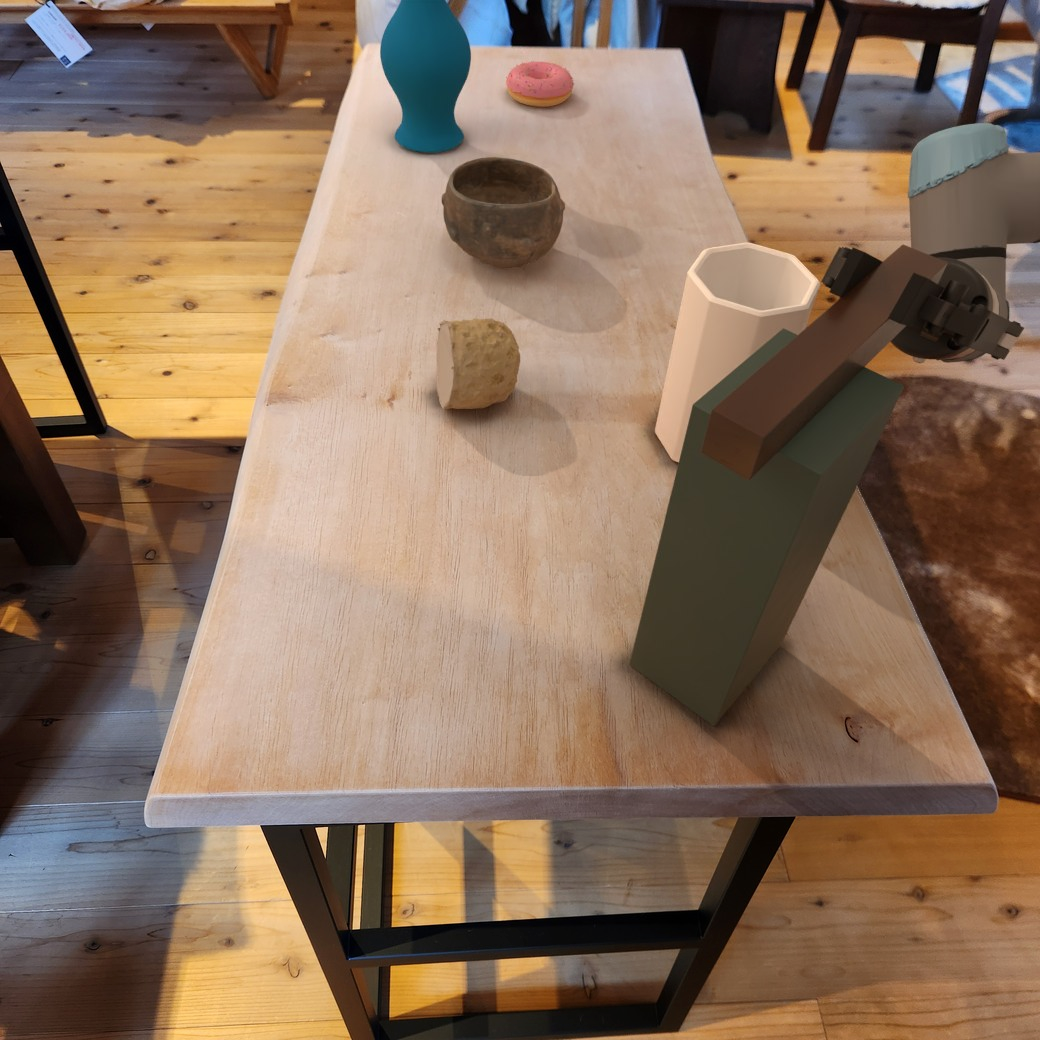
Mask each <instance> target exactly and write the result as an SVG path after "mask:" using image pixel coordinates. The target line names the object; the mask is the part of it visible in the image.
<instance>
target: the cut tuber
mask: <svg viewBox="0 0 1040 1040" xmlns="http://www.w3.org/2000/svg"><path fill="white" fill-rule="evenodd" d="M437 331H438V336H437V342H436V377H437V379H436V380H437V381H436V383H437V384H436V397H437V398H438V402H439V404H440V406H441V408H442V410H449V409H456V410H457V409H459V410H460V409H461V410H463V409H465V410H466V409H467V410H470V409H472V410H475V409H481V410H482V409H485V408H488V407H490V406H491V405H495V404H496V403H498V404H499V403H502V402H504V401H506V400H507V399H508V397H509V396H510V394H511V393H512V392H513V391H514V389H515V386H516V384H517V382H518V373H519V370H520V364H521V352H520V346H519V345H518V342H517V339H516V336H515V335H514V333H513V331H512V330H511V328H509V326H507V324H506V323H505V322H502V321H499V320H495V319H494V318H492V317H488V318H477V317H475V318H473V319H462V320H452V321H447V320H442V321H441V322H439V327H438V328H437Z"/></svg>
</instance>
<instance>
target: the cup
mask: <svg viewBox="0 0 1040 1040" xmlns="http://www.w3.org/2000/svg"><path fill="white" fill-rule="evenodd" d="M684 283H685V284H684V288H683V294H682V298H681V303H680V308H679V312H678V318H677V321H676V327H675V331H674V337H673V341H672V346H671V349H670V350H671V351H670V355H669V361H668V365H667V370H666V374H665V379H664V385H663V390H662V394H661V399H660V403H659V404H660V405H659V407H658V408H659V409H658V413H657V418H656V423H655V427H654V433H655V435H656V436H657V438H658V439H659V442H660V443H661V444H662V446H663V448H664V449H665V451H666V452H667V454H668V456H669V457H670V459H671V460H672V461H673V462H676V463H679V459H680V455H681V451H682V447H683V443H684V439H685V435H686V430H687V426H688V422H689V418H690V414H691V410H692V406H693V404H694V403H695V402H696V401H698V400H699V399H700V398H701V397H702V396H703V395H705V394H706V393H707V392H708V391H709V390H711V389H712V388H713V387H714V386H715V385H717V384H718V383H719V382H720V381H721V380H722V379H724V378H725V377H726V376H727V375H728V374H730V373H731V372H732V371H733V370H734V369H736V368H737V367H738V366H739V365H740V364H741V363H743V362H744V361H745V360H746V359H747V358H749V357H750V356H751V355H752V354H753V353H755V352H756V351H757V350H758V349H759V348H760V347H762V346H763V345H764V344H765V343H766V342H768V341H769V340H770V339H771V338H772V337H773V336H775V335H776V334H777V333H778V332H779V331H781V330H782V329H783V328H784V329H786V330H788V331H790V332H792V333H795V334H797V335H799V334H800V333H801V332H802V331H803V330H804V329H806V328H807V325H808V322H809V320H810V316H811V313H812V311H813V308H814V304H815V302H816V299H817V295H818V293H819V290H820V287H821V282H820V280H819V279H818V278H817V277H816V276H815V275H814V274H813V273H812V272H811V271H810V270H809V269H808V268H807V267H806V266H805V265H804V264H803V263H802V262H801V261H800V259H799V258H798V257H797V256H796V255H794V254H793V253H789V252H785V251H781V250H777V249H774V248H770V247H767V246H763V245H760V244H756V243H753V242H740V243H733V244H727V245H720V246H719V245H718V246H713V247H708V248H705V249H703V250H702V251H701V253H699V255H698V256H697V258H696V260H694V262H693V264H691V266H690V267H689V269H688V271H687V273H686V279H685V282H684Z"/></svg>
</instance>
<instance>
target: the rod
mask: <svg viewBox="0 0 1040 1040" xmlns="http://www.w3.org/2000/svg"><path fill="white" fill-rule="evenodd" d="M947 263H948V262H946V261H943V260H941V259H938V258H936V257H933V256H931V255H928V254H926V253H923V252H921V251H918V250H916V249H913V248H911V246H908V245H906V244H901V245H900V246H899V247H898V248H896V250H894V251H893V252H892V253H891V254H889V256H888V257H886V258H884V260H882V263H881V264H880V265H879V266H877V267H876V268H875V269H874V270H873V271H872V272H870V273H869V274H868V275H867V276H866V277H865V278H864V279H862V280H861V281H860V282H859V283H858V284H857V285H855V286H854V287H853V288H852V289H851V290H850V291H848V292H847V293H846V294H845V295H844V296H843V297H842V298H840V297H839V298H840V299H839V298H838V299H839V300H836V301H835V302H834V303H833V304H832V305H831V306H830V307H829V308H826V310H825V311H824V312H823V313H821V314H820V315H818V317H817V318H816V319H815V320H814V321H812V322H811V323H810V324H809V325H808V326H806V328H805V329H804V330H803V331H802V332H801V333H800V334H799V335H797V336H796V337H795V338H794V339H793V340H792V341H791V342H789V343H788V344H787V345H786V346H785V347H784V348H782V349H781V350H780V351H779V352H778V353H777V354H776V355H774V356H773V357H772V358H771V359H770V360H769V361H767V362H766V363H765V364H764V365H763V366H762V367H761V368H759V369H758V370H757V371H756V372H755V373H754V374H752V375H751V376H750V377H749V378H748V379H747V380H746V381H744V382H743V383H742V384H741V385H740V386H739V387H737V388H736V389H735V390H734V391H733V392H732V393H730V394H729V395H728V396H727V397H726V398H725V399H724V400H722V401H721V402H720V403H719V404H718V405H717V406H715V407H714V408H713V409H712V411H711V415H710V419H709V422H708V426H707V430H706V434H705V437H704V441H703V445H702V448H701V453H702V454H704V455H705V456H707V457H709V458H711V459H712V460H714V461H716V462H718V463H719V464H721V465H723V466H725V467H726V468H728V469H730V470H732V471H733V472H735V473H737V474H738V475H740V476H742V477H744V478H745V479H747V480H750V479H751V478H752V477H753V476H754V475H755V474H756V473H757V472H758V471H759V470H760V469H761V468H762V467H763V466H764V465H765V464H766V463H767V462H768V461H769V460H770V459H771V458H772V457H773V456H775V455H776V454H777V453H778V452H779V451H780V450H781V449H782V448H783V447H784V446H785V445H786V444H787V443H788V442H789V441H790V440H791V439H792V438H793V437H794V436H795V435H796V434H797V433H798V432H799V431H800V430H801V429H802V428H803V427H804V426H805V425H806V424H807V423H808V422H809V421H810V420H811V419H812V418H813V417H814V416H815V415H816V414H817V413H818V412H819V411H820V410H821V409H822V408H823V407H824V406H825V405H826V404H827V403H828V402H829V401H830V400H831V399H832V398H833V397H834V396H835V395H836V394H837V393H838V392H840V391H841V390H842V389H843V388H844V387H845V386H846V385H847V384H848V383H849V382H850V381H851V380H852V379H853V378H854V377H855V376H856V375H857V374H858V373H859V372H860V371H861V370H862V369H863V368H864V367H867V365H869V363H870V362H871V361H872V360H873V359H874V358H875V357H877V355H878V354H879V353H880V352H881V351H882V350H883V349H884V348H885V347H886V346H888V344H890V343H891V342H890V341H891V340H892V339H893V338H894V337H895V336H896V335H897V334H898V333H899V332H900V331H901V330H902V329H903V328H905V327H906V325H903V324H899V323H897V322H895V321H893V320H890V319H888V317H889V315H890V313H891V312H892V310H893V308H894V306H895V305H896V303H897V301H898V299H899V298H900V296H901V294H902V292H903V290H904V289H905V287H906V285H907V283H908V282H909V280H910V278H911V276H912V275H913V273H916V274H919V275H921V276H923V277H926V278H928V279H930V280H931V281H933V282H935V283H936V284H938V283H939V281H940V279H941V276H942V274H943V272H944V270H945V268H946V266H947Z"/></svg>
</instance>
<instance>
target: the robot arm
mask: <svg viewBox="0 0 1040 1040" xmlns="http://www.w3.org/2000/svg"><path fill="white" fill-rule="evenodd" d="M1007 139H1008V138H1007V132H1006V130H1005V128H1003V126H1001V125H999V124H992V123H991V122H977V123H968V124H963V125H958V126H953V127H949V128H945V129H942V130H939V131H936V132H933V133H932V134H931V133H930V134H929V135H928V136H926V137H924V138H922V139H921V140H920V141H918V143H917V144H916V145H915V146H914V148H913V150H912V152H911V155H910V166H909V173H908V186H907V199H908V204H909V205H908V207H909V226H910V227H909V228H910V247H911V248H913V249H916V250H918V251H921V252H923V253H926V254H928V255H931V256H933V257H936V258H938V259H941V260H943V261H946V262H948V263H947V266H946V268H945V270H944V272H943V274H942V276H941V279H940V281H939V283H938V284H936V283H935V282H933V281H931V280H930V279H928V278H926V277H923V276H921V275H919V274H916V273H913V275H912V276H911V278H910V280H909V282H908V283H907V285H906V287H905V289H904V290H903V292H902V294H901V296H900V298H899V299H898V301H897V303H896V305H895V306H894V308H893V310H892V312H891V313H890V315H889V317H888V319H890V320H893V321H895V322H897V323H899V324H903V325H906V327H905V328H903V329H902V330H901V331H900V332H899V333H898V334H897V335H896V336H895V337H894V338H893V339H892V340H891V341H890V342H889V343H891V344H892V345H893V346H894V347H895V348H896V349H897V350H899V351H900V352H902V353H903V354H906V355H908V356H910V357H912V360H913V361H914V363H917V364H924V363H925V361H926V360H936V361H941V362H943V363H945V364H946V363H948V364H950V363H961V362H971V361H974V360H977V359H979V358H982V357H983V356H984V355H986V354H987V355H989V356H990V357H991V358H992V359H994V360H996V361H997V360H1003V361H1005V359H1006V358H1007V356H1008V355H1009V354H1010V352H1011V350H1012V348H1013V347H1014V346H1015V344H1016V342H1017V341H1018V339H1019V337H1020V336H1021V335H1022V333H1023V331H1024V330H1025V327H1024V326H1022V325H1021V323H1020V322H1018V321H1015V320H1013V321H1011V320H1010V315H1011V313H1010V308H1011V307H1010V302H1009V300H1008V299H1007V297H1006V296H1007V294H1006V293H1007V289H1006V288H1007V285H1006V284H1007V281H1006V279H1007V272H1006V271H1007V247H1008V246H1007V245H1020V244H1039V243H1040V152H1039V151H1037V152H1012V153H1011V152H1010V153H1009V150H1010V149H1009V148H1010V145H1009V144H1008V140H1007ZM882 262H883V260H880V259H879V258H877V257H875V256H873V255H871V254H869V253H867V252H865V251H863V250H861V249H859V248H856V247H851V248H849V247H847V246H845V247H843V246H842V247H840V246H839V247H838V249H837V250H836V252H835V254H834V256H833V257H832V260H831V262H830V264H829V265H828V268H827V269H826V271H825V273H824V275H823V276H822V278H821V280H820V281H821V282H820V283H822V285H824V287H826V288H828V289H829V291H828V292H829V293H830V294H832V295H834V296H837V297H839V298H838V300H839V299H840V298H842V297H843V296H844V295H845V294H846V293H847V292H848V291H850V290H851V289H852V288H853V287H854V286H855V285H857V284H858V283H859V282H860V281H861V280H862V279H864V278H865V277H866V276H867V275H868V274H869V273H870V272H872V271H873V270H874V269H875V268H876V267H877V266H879V265H880V264H881V263H882ZM838 300H837V301H838Z"/></svg>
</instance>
